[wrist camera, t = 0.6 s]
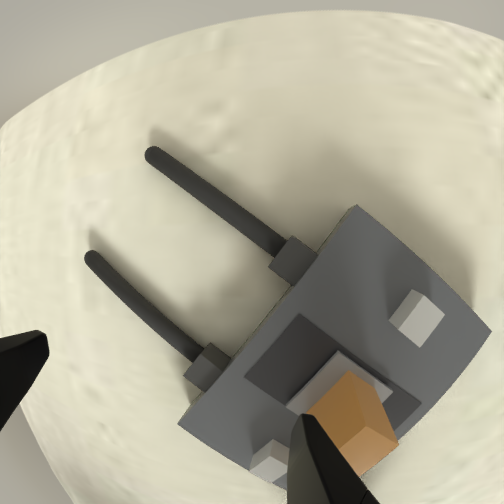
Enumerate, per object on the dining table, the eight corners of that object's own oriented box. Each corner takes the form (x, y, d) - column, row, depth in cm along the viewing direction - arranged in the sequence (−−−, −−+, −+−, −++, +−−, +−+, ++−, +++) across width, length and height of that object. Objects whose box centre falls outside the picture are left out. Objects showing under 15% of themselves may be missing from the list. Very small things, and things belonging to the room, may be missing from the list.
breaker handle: (391, 388, 16) (421, 446, 10) (340, 437, 17) (348, 501, 10) (337, 350, 17) (353, 405, 10) (285, 404, 17) (277, 469, 11)
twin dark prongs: (319, 265, 20) (320, 267, 18) (224, 379, 21) (220, 388, 20) (156, 145, 21) (148, 140, 20) (88, 259, 23) (78, 260, 22)
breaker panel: (472, 321, 18) (506, 339, 13) (314, 480, 21) (313, 517, 16) (325, 191, 20) (333, 177, 15) (171, 390, 22) (144, 420, 17)
